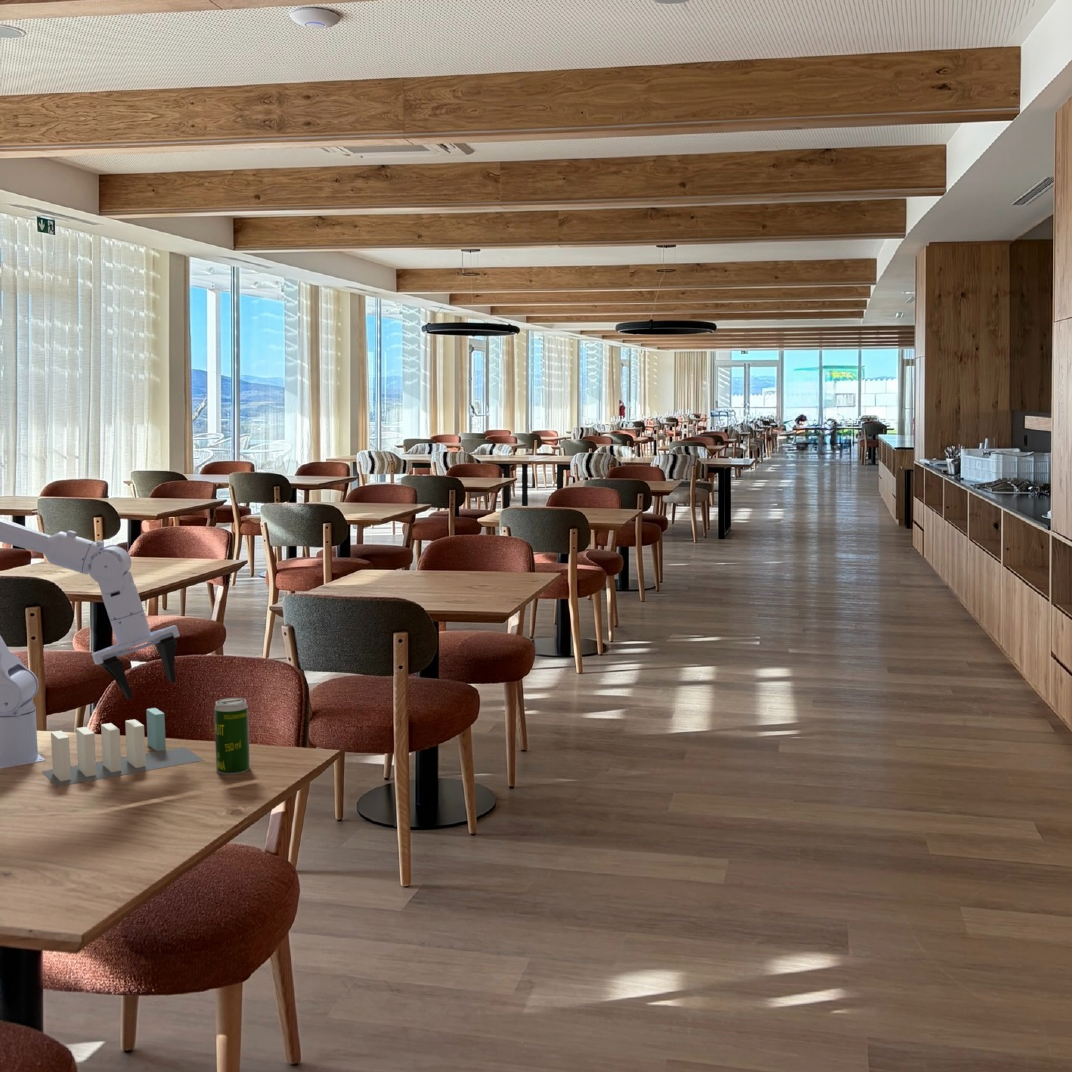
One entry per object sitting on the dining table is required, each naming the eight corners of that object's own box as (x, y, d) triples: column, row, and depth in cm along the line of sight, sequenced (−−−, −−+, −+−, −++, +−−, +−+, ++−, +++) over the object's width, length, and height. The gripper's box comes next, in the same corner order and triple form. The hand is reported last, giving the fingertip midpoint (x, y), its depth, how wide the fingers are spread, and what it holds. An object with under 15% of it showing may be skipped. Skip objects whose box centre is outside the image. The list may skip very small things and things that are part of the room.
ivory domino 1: (60, 781, 189) (58, 738, 188) (52, 773, 193) (50, 732, 192) (70, 779, 190) (68, 737, 189) (63, 771, 194) (61, 730, 193)
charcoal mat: (41, 774, 194) (41, 771, 194) (184, 749, 208) (184, 747, 208) (56, 789, 186) (56, 786, 186) (204, 763, 200) (204, 760, 200)
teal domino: (156, 753, 206) (155, 714, 205) (147, 747, 210) (146, 709, 209) (165, 752, 207) (164, 713, 206) (156, 746, 211) (155, 707, 210)
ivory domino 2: (86, 776, 191) (84, 734, 190) (78, 769, 195) (76, 728, 194) (96, 775, 192) (94, 733, 191) (88, 767, 196) (86, 726, 195)
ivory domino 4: (135, 768, 196) (134, 726, 195) (127, 760, 200) (125, 720, 199) (145, 766, 197) (143, 725, 196) (136, 759, 201) (134, 719, 200)
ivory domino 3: (111, 772, 193) (109, 730, 193) (102, 765, 197) (101, 724, 197) (121, 770, 194) (119, 729, 194) (112, 763, 198) (110, 722, 198)
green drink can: (242, 765, 198) (239, 696, 197) (255, 773, 194) (253, 702, 193) (211, 771, 195) (209, 700, 194) (224, 779, 191) (221, 707, 190)
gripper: (90, 629, 193) (115, 707, 195) (174, 601, 201) (198, 676, 203) (80, 628, 199) (105, 703, 201) (162, 601, 207) (185, 673, 209)
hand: (151, 689), depth 202 cm, fingers open, 7 cm apart
